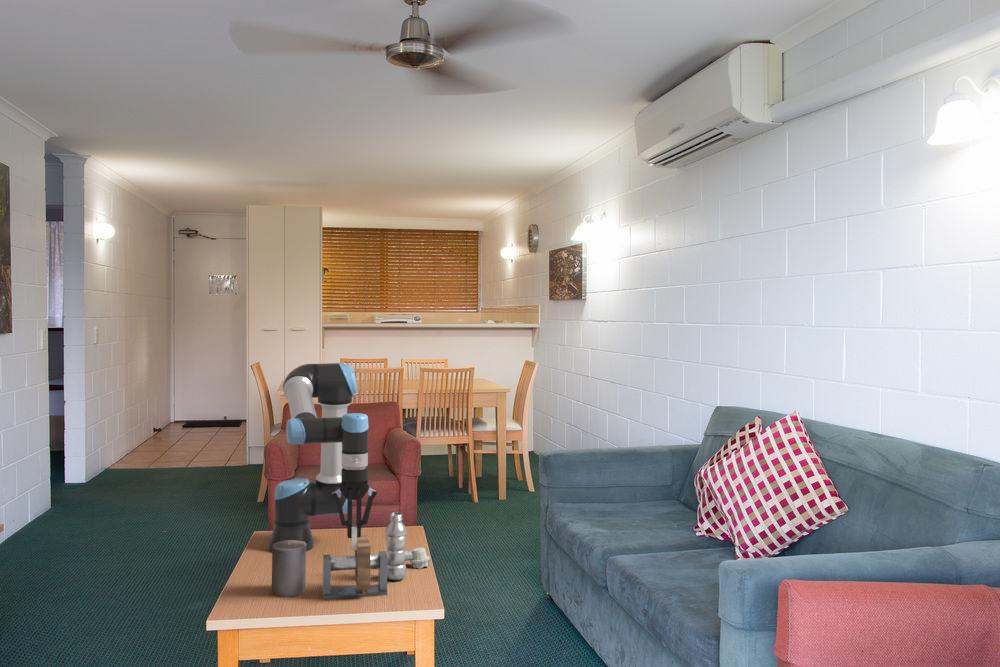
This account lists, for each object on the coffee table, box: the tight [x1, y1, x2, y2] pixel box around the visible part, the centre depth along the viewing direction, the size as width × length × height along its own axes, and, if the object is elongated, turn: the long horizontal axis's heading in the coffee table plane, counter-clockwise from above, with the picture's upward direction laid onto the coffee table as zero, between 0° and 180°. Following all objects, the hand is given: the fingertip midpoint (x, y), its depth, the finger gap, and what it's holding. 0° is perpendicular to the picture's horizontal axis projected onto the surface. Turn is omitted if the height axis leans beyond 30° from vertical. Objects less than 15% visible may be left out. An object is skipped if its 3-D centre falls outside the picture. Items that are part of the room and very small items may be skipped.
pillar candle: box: [271, 540, 307, 598], centre depth 227 cm, size 10×10×15 cm
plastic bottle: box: [385, 512, 408, 581], centre depth 239 cm, size 6×7×20 cm
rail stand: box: [322, 550, 388, 601], centre depth 226 cm, size 7×18×11 cm, turn 105°
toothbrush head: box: [376, 547, 431, 570], centre depth 251 cm, size 5×7×25 cm
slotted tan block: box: [354, 535, 372, 590], centre depth 226 cm, size 12×4×12 cm, turn 15°
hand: (353, 548), depth 225 cm, fingers closed
